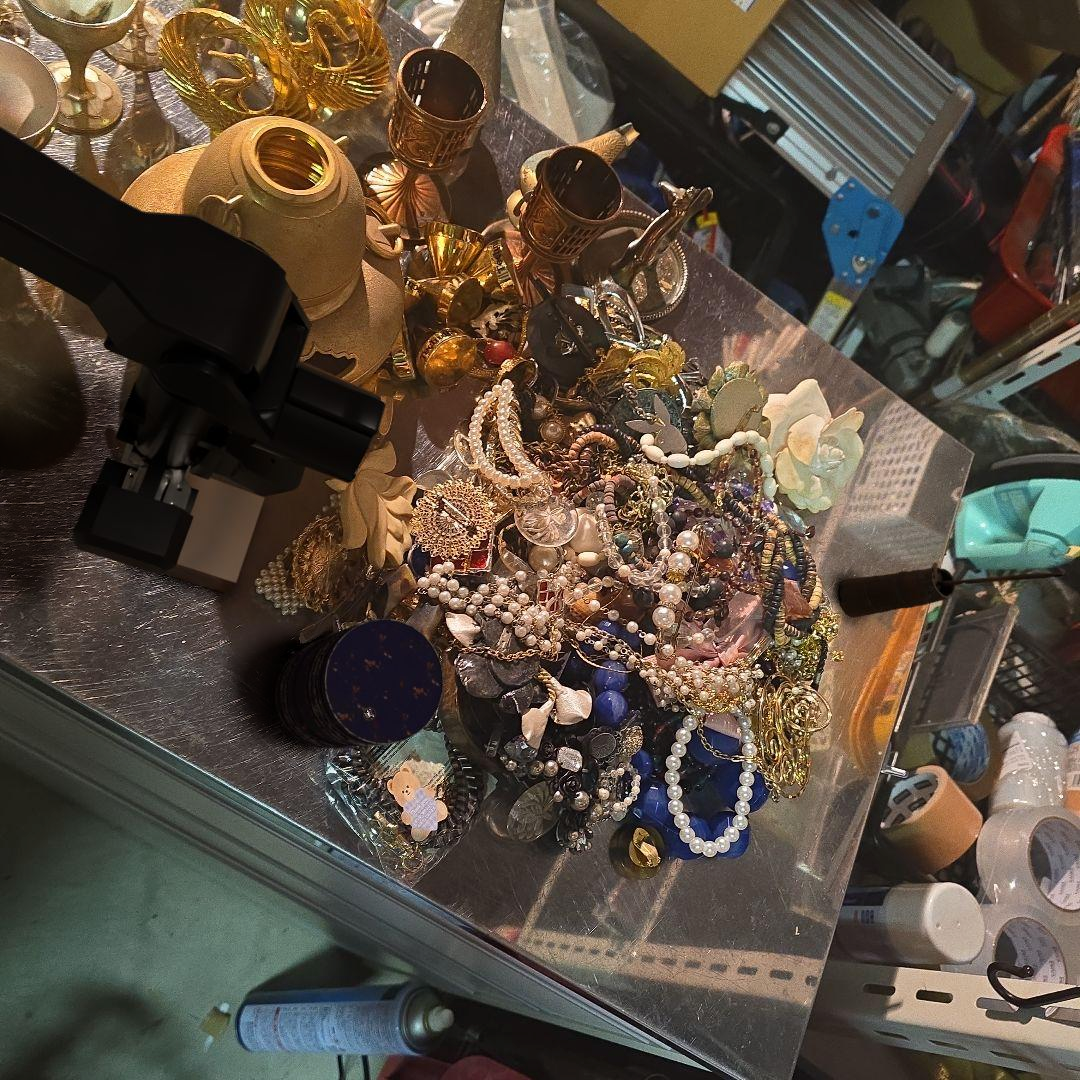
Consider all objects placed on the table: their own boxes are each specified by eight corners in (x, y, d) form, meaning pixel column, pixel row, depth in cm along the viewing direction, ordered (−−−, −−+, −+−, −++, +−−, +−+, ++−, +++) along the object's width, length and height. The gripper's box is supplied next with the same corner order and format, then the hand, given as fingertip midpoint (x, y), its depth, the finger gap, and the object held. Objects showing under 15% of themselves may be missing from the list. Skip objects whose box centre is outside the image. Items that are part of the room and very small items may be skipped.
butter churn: (810, 575, 116) (1013, 527, 93) (852, 548, 121) (1054, 495, 98) (840, 639, 116) (1049, 607, 93) (880, 609, 122) (1088, 571, 98)
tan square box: (143, 567, 76) (150, 556, 72) (174, 483, 79) (183, 467, 75) (224, 593, 79) (236, 583, 75) (252, 511, 82) (265, 497, 77)
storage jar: (308, 620, 82) (361, 593, 69) (397, 671, 85) (464, 654, 73) (253, 718, 78) (299, 709, 65) (349, 768, 81) (411, 768, 68)
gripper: (274, 579, 53) (224, 617, 66) (357, 317, 59) (296, 399, 72) (74, 514, 48) (63, 568, 61) (188, 238, 55) (155, 341, 68)
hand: (155, 464), depth 66 cm, fingers closed on planter, 4 cm apart
